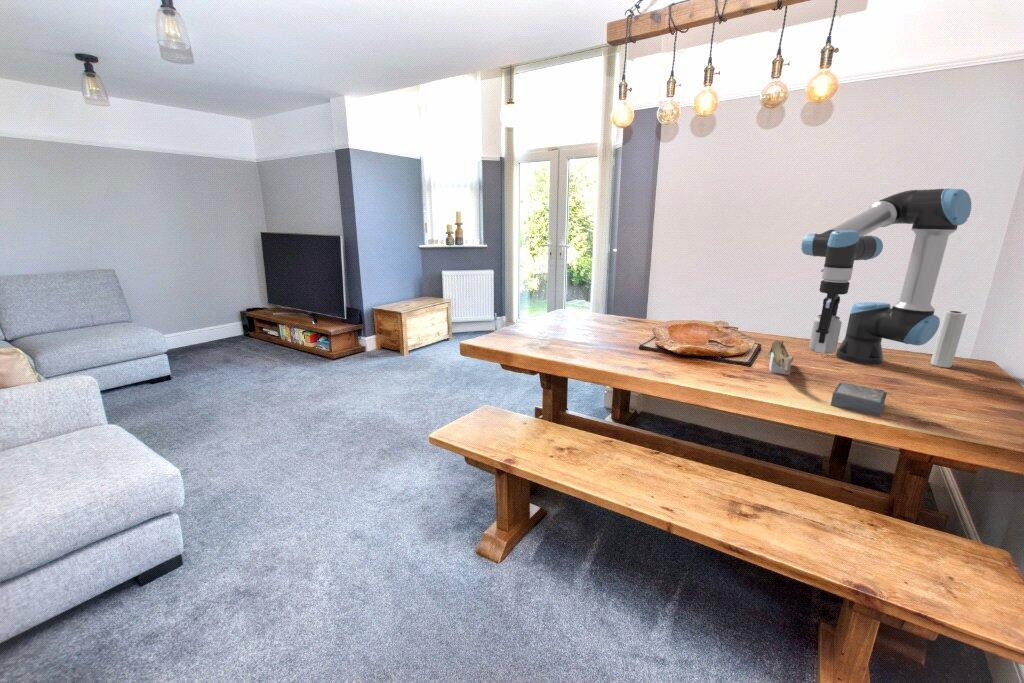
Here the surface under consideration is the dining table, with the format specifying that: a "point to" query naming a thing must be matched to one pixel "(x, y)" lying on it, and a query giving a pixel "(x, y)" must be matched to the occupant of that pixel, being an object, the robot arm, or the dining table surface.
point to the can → (832, 337)
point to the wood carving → (779, 358)
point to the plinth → (859, 398)
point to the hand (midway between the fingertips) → (822, 349)
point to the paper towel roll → (948, 338)
